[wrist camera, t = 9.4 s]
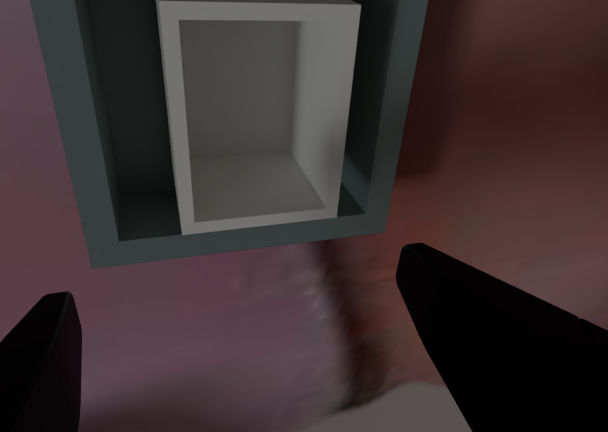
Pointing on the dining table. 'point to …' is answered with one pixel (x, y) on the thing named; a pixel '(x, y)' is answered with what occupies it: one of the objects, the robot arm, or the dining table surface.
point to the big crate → (155, 134)
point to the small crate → (257, 108)
